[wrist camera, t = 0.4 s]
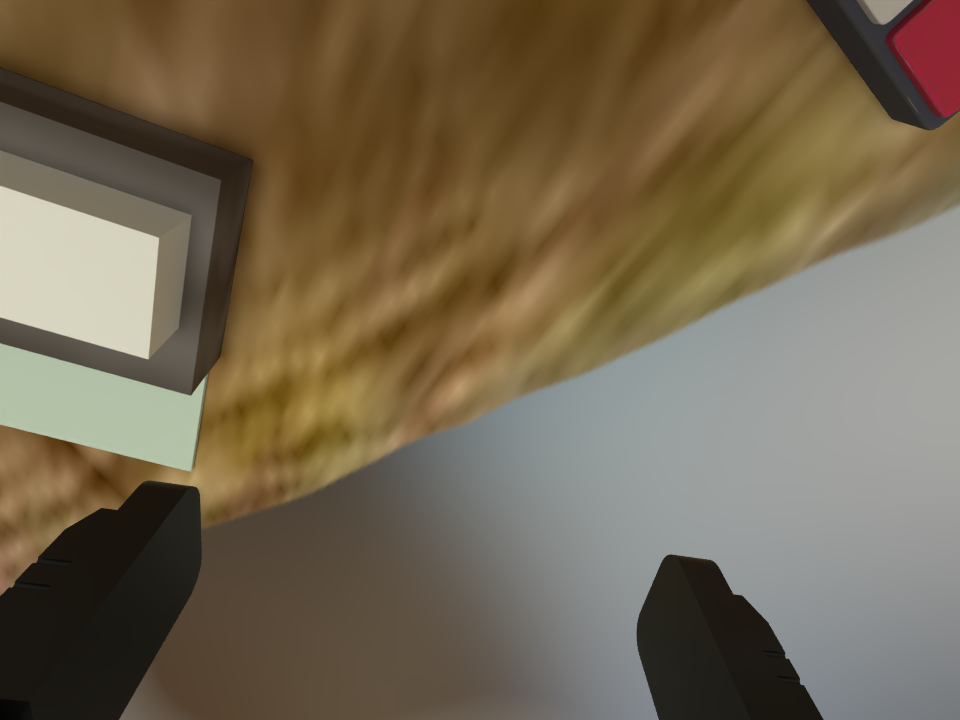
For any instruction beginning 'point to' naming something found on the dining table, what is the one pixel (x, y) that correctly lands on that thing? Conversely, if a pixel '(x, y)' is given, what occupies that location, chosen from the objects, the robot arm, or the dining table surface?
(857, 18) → the red and white box
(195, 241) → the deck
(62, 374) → the mat
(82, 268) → the cream tile
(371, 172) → the dining table surface
